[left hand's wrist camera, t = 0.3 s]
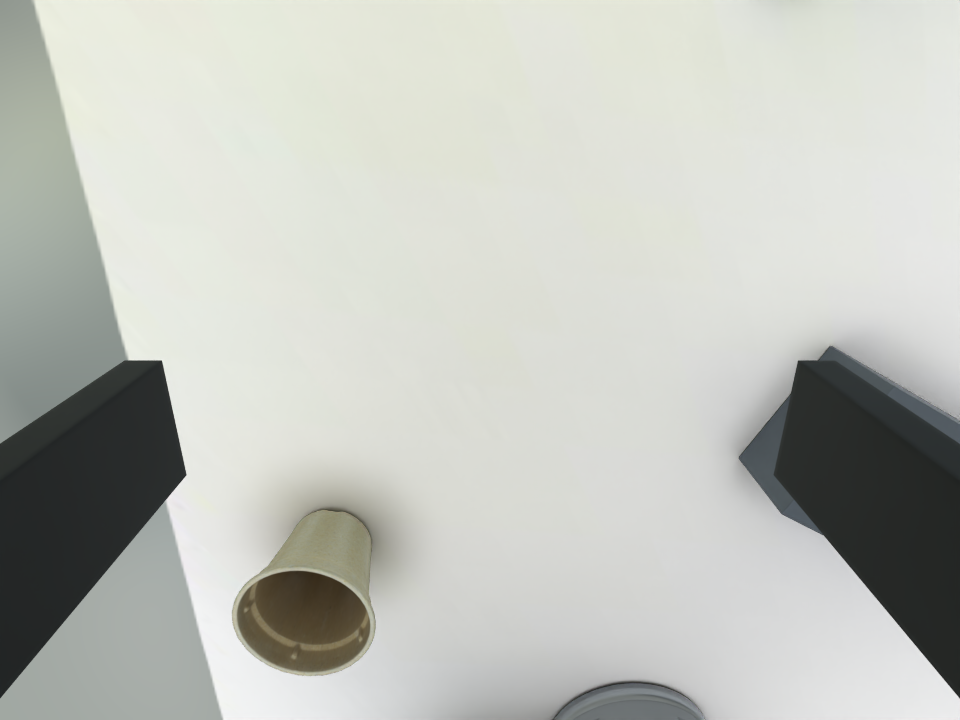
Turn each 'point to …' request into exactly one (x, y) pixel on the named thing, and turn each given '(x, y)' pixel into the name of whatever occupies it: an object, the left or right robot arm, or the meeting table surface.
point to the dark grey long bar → (767, 442)
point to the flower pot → (311, 599)
